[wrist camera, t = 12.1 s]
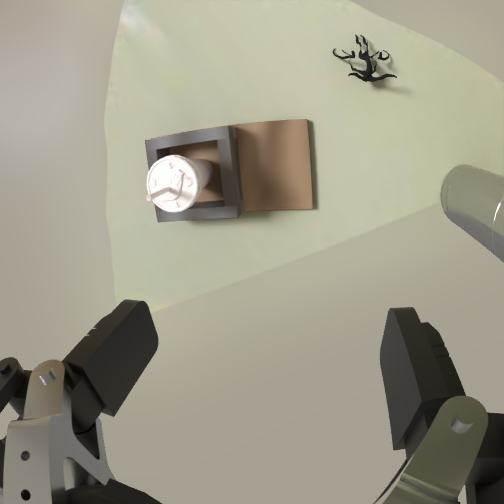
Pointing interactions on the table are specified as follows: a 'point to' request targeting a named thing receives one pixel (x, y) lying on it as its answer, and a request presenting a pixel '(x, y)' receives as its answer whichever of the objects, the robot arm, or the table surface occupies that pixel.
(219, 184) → the board
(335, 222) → the table surface
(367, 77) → the creature
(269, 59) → the table surface
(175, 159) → the smoothie
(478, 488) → the robot arm
